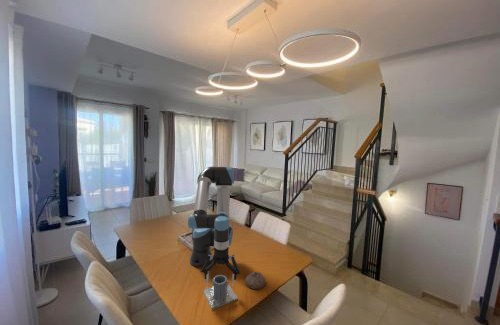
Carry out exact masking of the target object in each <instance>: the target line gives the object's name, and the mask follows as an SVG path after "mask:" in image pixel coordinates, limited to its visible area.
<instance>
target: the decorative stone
mask: <svg viewBox="0 0 500 325" xmlns="http://www.w3.org/2000/svg"><path fill="white" fill-rule="evenodd" d="M244 284H245V286H246V287H247V288H248V289H250V290H261V289H263V288H264V286H265V285H266V278H265V276H264V275H263V274H262V273H261V272H258V271H253V272H250V273H248V274H247V275H246V277H245V279H244Z"/></svg>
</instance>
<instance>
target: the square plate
mask: <svg viewBox="0 0 500 325" xmlns="http://www.w3.org/2000/svg"><path fill="white" fill-rule="evenodd" d="M202 292H203V294H204V297H205V298H206V300H207V303H208V305H209V307H210V309H211V310H215V309H219V308H220V307H222V306H226V305H228V304H231V303H232V302H235V301H238V300H239V298H238V296H237V294H236V293H235V291H233V288H232V287H231V286H230V284H229V283H228V285H227V295H226V296H225V297H224V298H222V299H216V298H214V297H213V295H212V286H211V287H210V286H209V287H208V288H204V289H202Z"/></svg>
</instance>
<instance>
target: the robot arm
mask: <svg viewBox="0 0 500 325" xmlns="http://www.w3.org/2000/svg"><path fill="white" fill-rule="evenodd" d="M234 175H235V174H234V169H233V168H232V167H229V166H208V167H206V168H205V169H203V170H202V171H201V172H200V173H199V175H198V177H197V180H196V184H197V188H196V189H197V190H196V196H195V201H194V206H193V207H194V208H193V213H192V214H189V215H188V218H187V226H188V228H189V229H192V230H193V234H192V252H191V254H190V258H189V262H190V265H191V266H193V267H196V268H197V267H198V268H201V270H200V272H201V274H204V280H206V282H205V284H206V285H205V286H206V287H209V283H210V282H209V281H210V270H212V269H213V268H214V267H215V266H216V265H219V266H220V265H222V266H224V265H225V266H226V267H227V268H228V269H229V270H230V272H231V273H232V280H231V282H232V283H231V285H232V287H231V288H234V285H235V281H236V280H237V275H239V274H240V273H241V268H240V267H239V265H238V263H237V261H236V259H235V254H232V255H229V249H230V248H229V246H231V244H232V241H233V236H234V234H233V233H234V228H233V227H232V225H231V223H230V199H231V198H230V196H231V193H230V192H231V188H232V187H233V184H235V176H234ZM212 184H215V187H216V188H217V193H216V194H217V197H216V199H217V200H216V214H215V213H214V214H208V207H209V206H208V205H209V197H210V196H209V195H210V186H212ZM211 247H213V253H212V250H211ZM229 260H230V261H231V262H230V261H229ZM231 263H232V264H231Z"/></svg>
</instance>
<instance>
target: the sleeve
mask: <svg viewBox="0 0 500 325" xmlns="http://www.w3.org/2000/svg"><path fill="white" fill-rule="evenodd" d="M228 284H229V280H228V278H227V276H226V275H223V274H218V275H215V276H214V277H213V278H212V285H211V287H212V295H213V297H214V298H216V299H222V298H224V297H225V296H226V295H227V285H228Z"/></svg>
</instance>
